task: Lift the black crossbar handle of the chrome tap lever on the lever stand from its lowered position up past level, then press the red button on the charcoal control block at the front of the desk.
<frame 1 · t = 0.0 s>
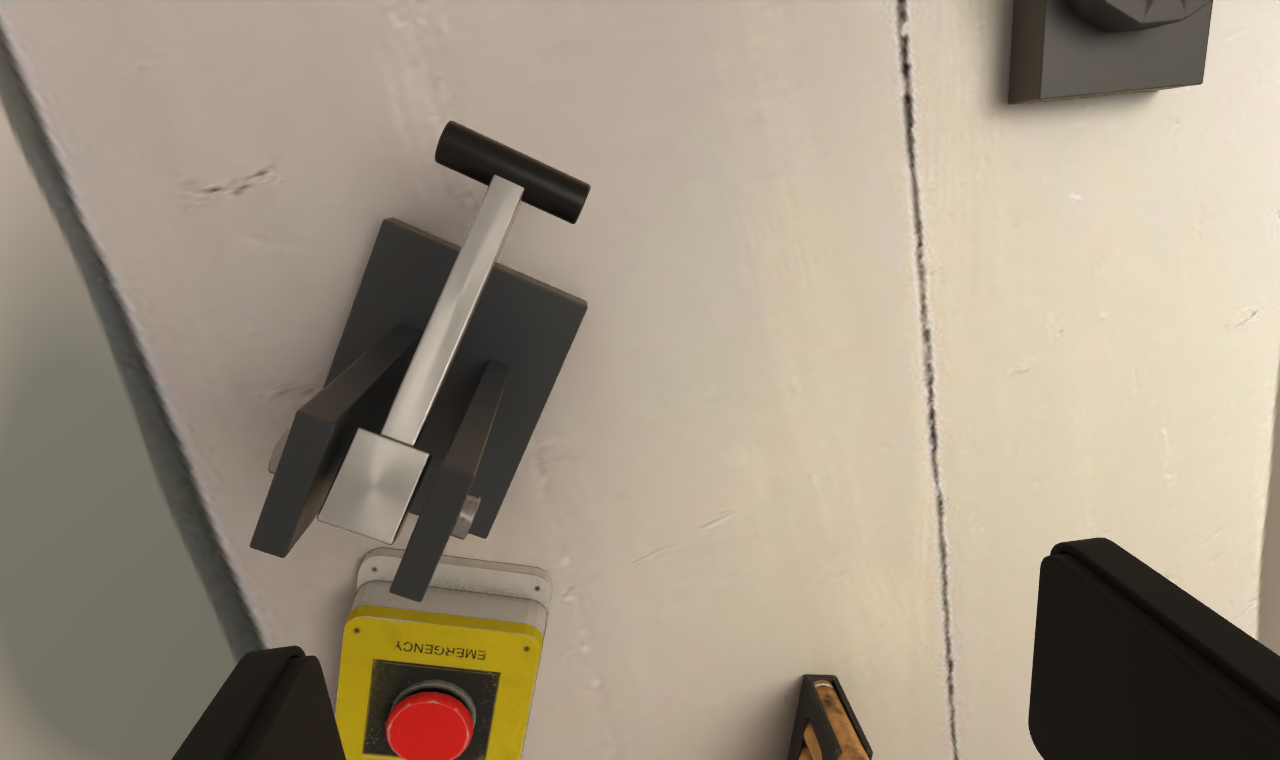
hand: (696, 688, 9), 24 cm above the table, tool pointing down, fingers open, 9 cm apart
ammunition clip: (803, 751, 40), on the table
lever stand: (443, 382, 32), on the table
tap lever: (445, 331, 22), point 9 cm above the table, hinge at -25.0°
emergency button: (443, 683, 37), on the table
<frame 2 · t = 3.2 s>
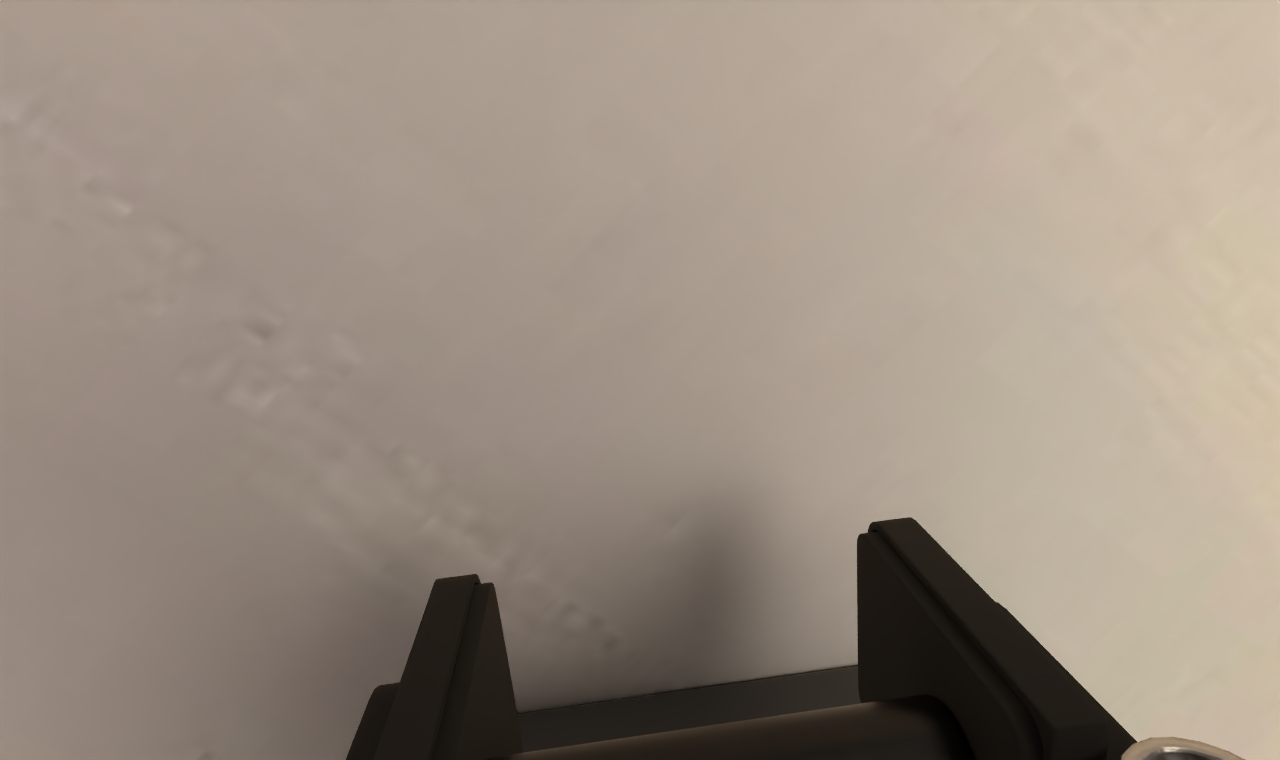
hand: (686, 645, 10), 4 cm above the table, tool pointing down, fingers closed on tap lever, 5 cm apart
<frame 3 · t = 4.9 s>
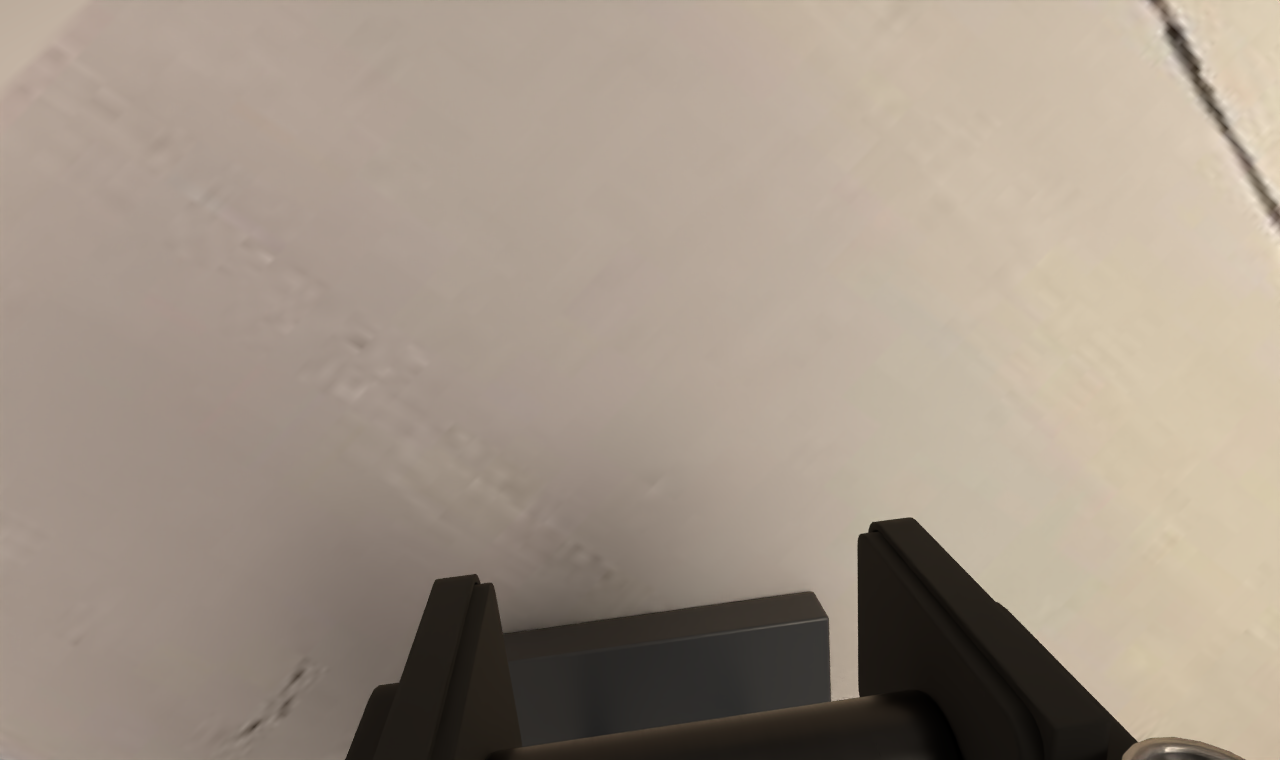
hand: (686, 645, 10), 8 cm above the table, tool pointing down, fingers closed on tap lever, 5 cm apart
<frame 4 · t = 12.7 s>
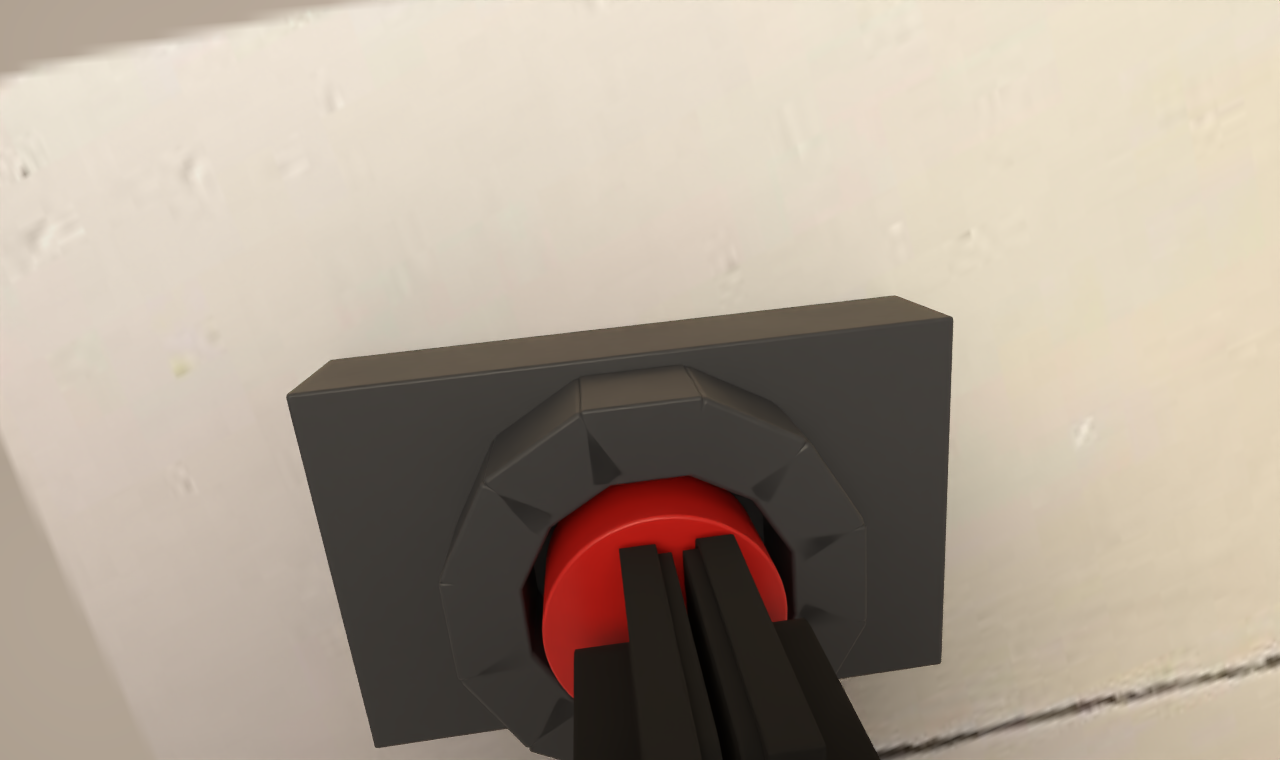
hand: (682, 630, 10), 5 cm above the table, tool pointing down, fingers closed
button block: (637, 491, 15), on the table
red button: (659, 593, 11), point 4 cm above the table, slide at -0.7 cm, touching gripper
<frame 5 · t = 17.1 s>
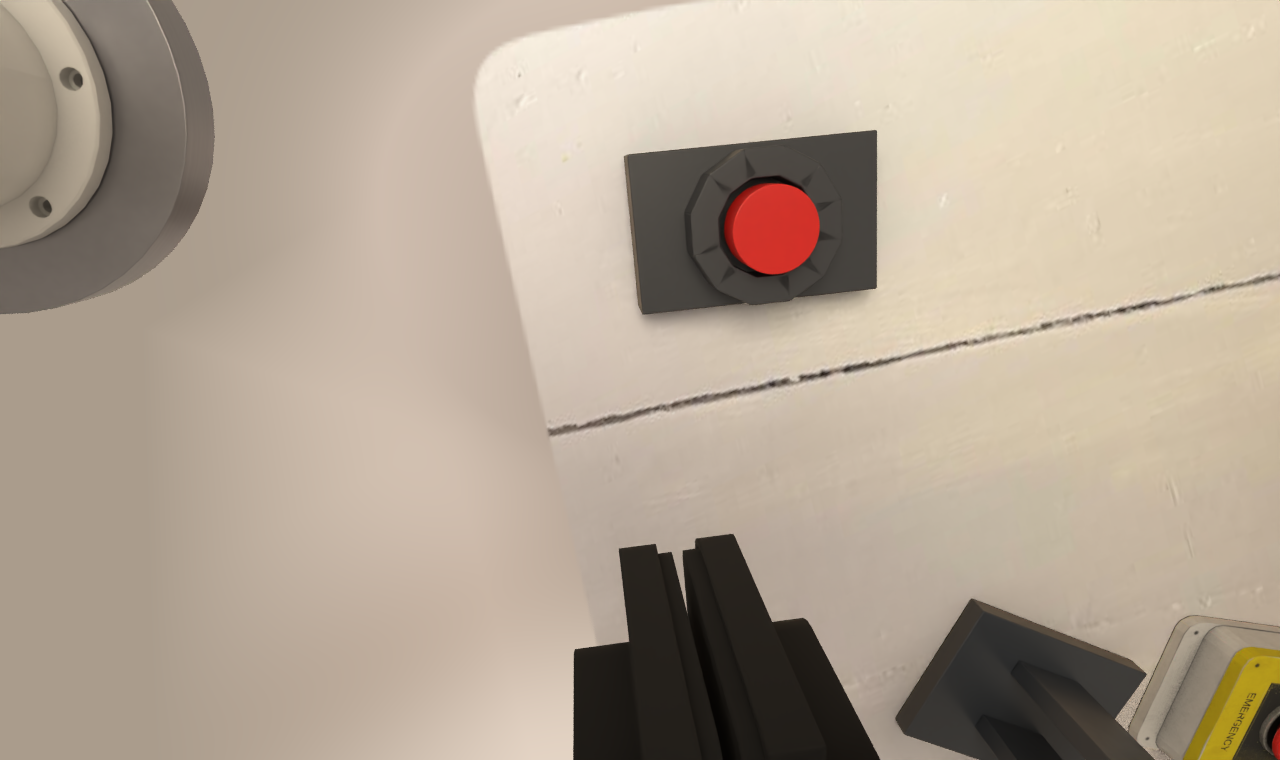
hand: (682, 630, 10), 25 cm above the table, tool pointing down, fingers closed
lever stand: (1013, 689, 43), on the table
button block: (745, 221, 34), on the table
emergency button: (1252, 688, 45), on the table
red button: (770, 228, 29), point 4 cm above the table, slide at 0.1 cm
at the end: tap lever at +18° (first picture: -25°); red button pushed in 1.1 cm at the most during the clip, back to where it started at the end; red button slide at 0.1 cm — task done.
